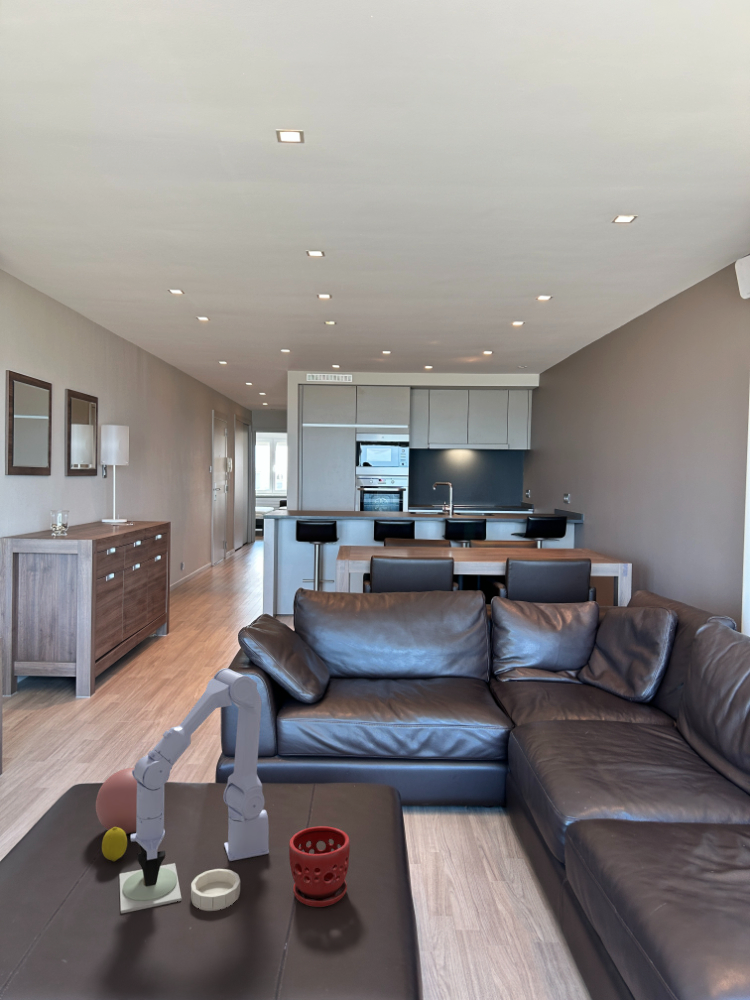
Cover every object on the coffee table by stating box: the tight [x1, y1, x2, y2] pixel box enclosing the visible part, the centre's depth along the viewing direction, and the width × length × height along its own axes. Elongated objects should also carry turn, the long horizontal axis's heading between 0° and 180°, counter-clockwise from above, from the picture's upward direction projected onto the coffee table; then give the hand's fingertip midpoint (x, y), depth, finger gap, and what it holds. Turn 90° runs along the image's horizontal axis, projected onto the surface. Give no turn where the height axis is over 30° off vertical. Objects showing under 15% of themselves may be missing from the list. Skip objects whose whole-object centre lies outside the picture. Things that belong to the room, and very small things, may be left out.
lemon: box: [101, 827, 128, 862], centre depth 154 cm, size 6×6×8 cm
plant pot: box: [288, 825, 351, 908], centre depth 142 cm, size 13×13×12 cm
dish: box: [190, 868, 241, 912], centre depth 141 cm, size 10×10×3 cm
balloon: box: [95, 767, 137, 835], centre depth 170 cm, size 15×20×15 cm
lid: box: [123, 868, 178, 901], centre depth 144 cm, size 11×11×3 cm
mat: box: [119, 862, 182, 914], centre depth 144 cm, size 12×14×1 cm
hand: (149, 875), depth 144 cm, fingers open, 7 cm apart
